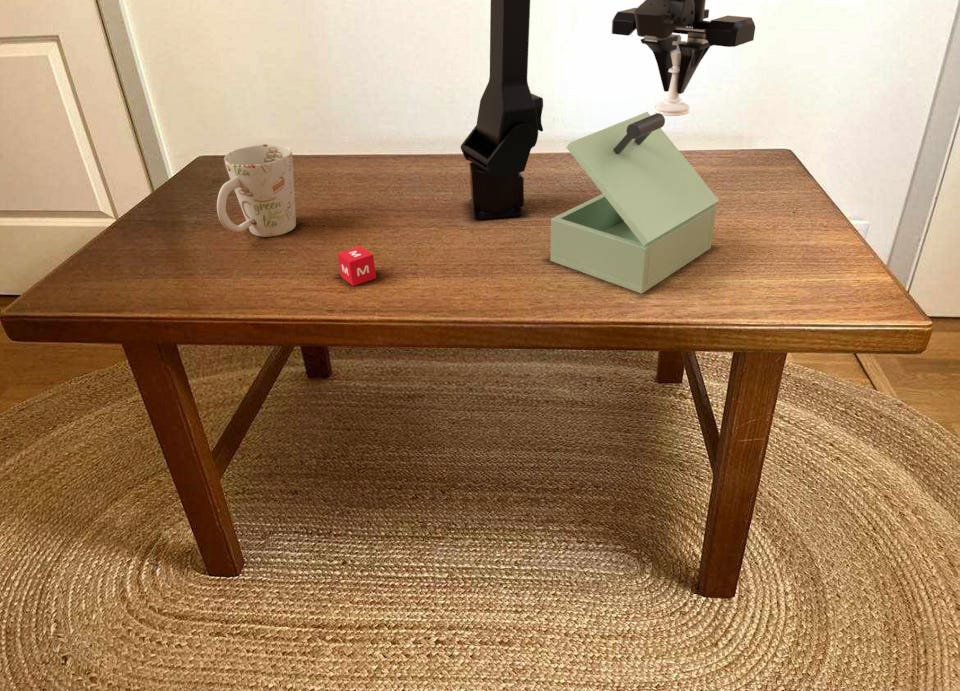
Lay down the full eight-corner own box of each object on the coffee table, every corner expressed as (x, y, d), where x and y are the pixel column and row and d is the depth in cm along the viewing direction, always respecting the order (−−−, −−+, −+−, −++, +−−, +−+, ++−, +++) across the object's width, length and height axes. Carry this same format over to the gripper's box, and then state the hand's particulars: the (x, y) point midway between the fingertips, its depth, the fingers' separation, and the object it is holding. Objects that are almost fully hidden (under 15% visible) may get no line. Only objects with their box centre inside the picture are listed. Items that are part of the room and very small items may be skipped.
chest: (550, 261, 85) (550, 218, 82) (621, 222, 94) (624, 182, 91) (641, 293, 77) (645, 248, 75) (710, 248, 86) (716, 206, 83)
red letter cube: (376, 278, 83) (373, 254, 81) (353, 286, 82) (349, 262, 80) (363, 269, 85) (360, 245, 83) (340, 276, 84) (337, 253, 82)
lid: (565, 147, 76) (591, 114, 72) (643, 116, 85) (670, 85, 81) (643, 246, 75) (674, 219, 71) (714, 204, 83) (745, 177, 79)
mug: (317, 220, 98) (304, 147, 93) (256, 258, 89) (238, 180, 83) (268, 212, 101) (253, 141, 96) (205, 248, 92) (184, 172, 86)
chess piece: (690, 116, 101) (699, 39, 96) (654, 115, 102) (661, 39, 97) (688, 107, 105) (697, 33, 100) (653, 106, 106) (660, 33, 101)
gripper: (590, -29, 95) (585, 94, 103) (722, -22, 83) (705, 115, 92) (638, -37, 101) (629, 79, 110) (766, -32, 90) (746, 97, 99)
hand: (673, 92), depth 102 cm, fingers closed on chess piece
